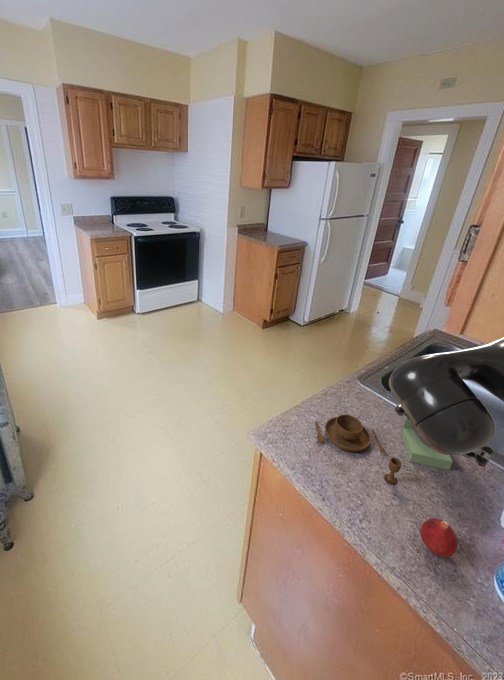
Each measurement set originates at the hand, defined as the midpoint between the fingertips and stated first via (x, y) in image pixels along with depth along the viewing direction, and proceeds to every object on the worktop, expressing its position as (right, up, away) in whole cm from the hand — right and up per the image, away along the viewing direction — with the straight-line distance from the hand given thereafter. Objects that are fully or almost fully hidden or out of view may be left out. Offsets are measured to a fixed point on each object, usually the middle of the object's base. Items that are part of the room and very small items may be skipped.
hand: (440, 434), depth 60 cm
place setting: (-6, -14, +26) cm, 30 cm away
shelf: (+13, -15, +25) cm, 32 cm away
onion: (+1, -24, +3) cm, 24 cm away
